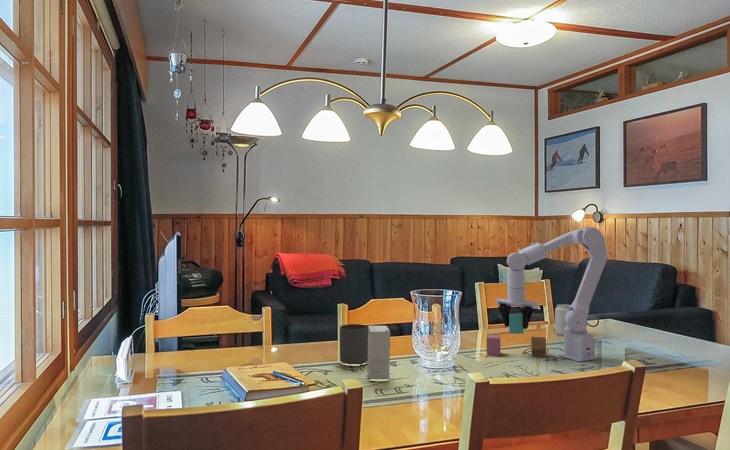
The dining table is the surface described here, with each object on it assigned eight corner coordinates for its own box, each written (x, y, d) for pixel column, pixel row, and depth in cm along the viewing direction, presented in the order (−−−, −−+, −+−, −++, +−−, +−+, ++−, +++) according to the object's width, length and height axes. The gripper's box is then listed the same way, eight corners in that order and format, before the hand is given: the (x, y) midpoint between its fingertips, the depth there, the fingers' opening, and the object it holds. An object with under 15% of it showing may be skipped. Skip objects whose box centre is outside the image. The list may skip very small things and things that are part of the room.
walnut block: (546, 357, 188) (546, 339, 188) (532, 357, 189) (532, 339, 189) (544, 354, 193) (544, 337, 193) (531, 353, 194) (531, 336, 194)
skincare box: (366, 374, 168) (366, 325, 168) (386, 374, 168) (386, 324, 168) (369, 382, 159) (369, 330, 159) (390, 382, 160) (390, 330, 160)
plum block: (500, 356, 191) (500, 338, 191) (486, 355, 192) (486, 337, 192) (500, 353, 195) (500, 335, 195) (487, 352, 196) (486, 335, 196)
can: (571, 333, 230) (571, 303, 230) (577, 336, 222) (577, 306, 222) (553, 332, 230) (553, 303, 230) (557, 336, 223) (557, 306, 223)
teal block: (523, 333, 190) (523, 316, 190) (509, 333, 191) (509, 315, 190) (522, 331, 194) (522, 313, 194) (509, 330, 195) (509, 313, 195)
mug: (370, 366, 177) (370, 328, 177) (342, 368, 176) (342, 329, 176) (362, 356, 191) (362, 321, 191) (335, 357, 189) (335, 322, 189)
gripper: (541, 288, 190) (541, 328, 190) (502, 285, 200) (502, 323, 200) (532, 290, 185) (532, 331, 185) (492, 287, 195) (492, 326, 195)
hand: (516, 327), depth 192 cm, fingers closed on teal block, 6 cm apart
